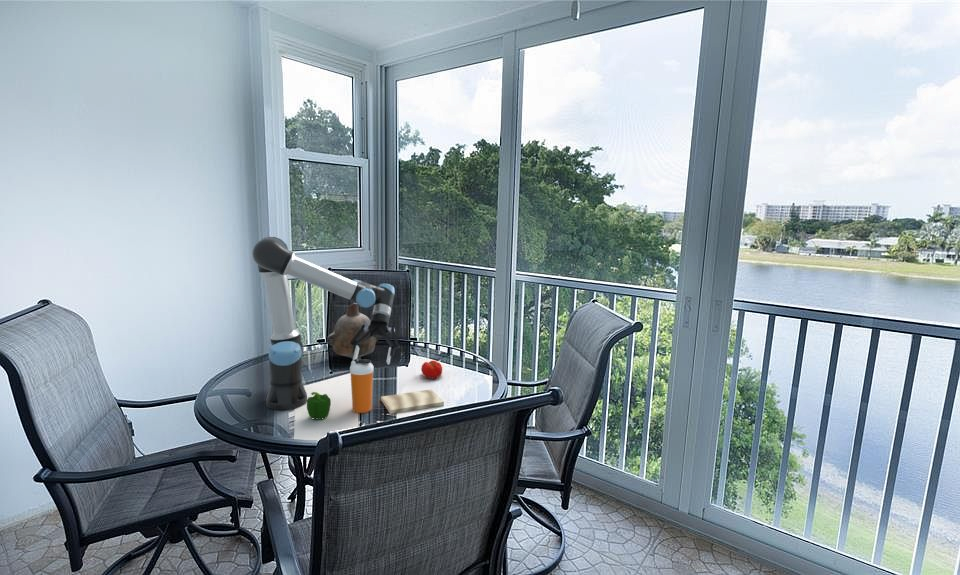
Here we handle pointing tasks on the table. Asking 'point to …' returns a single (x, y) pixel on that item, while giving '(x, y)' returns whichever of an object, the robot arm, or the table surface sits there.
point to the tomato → (431, 369)
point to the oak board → (411, 401)
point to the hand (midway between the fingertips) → (371, 362)
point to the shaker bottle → (361, 384)
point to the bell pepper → (318, 405)
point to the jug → (351, 333)
